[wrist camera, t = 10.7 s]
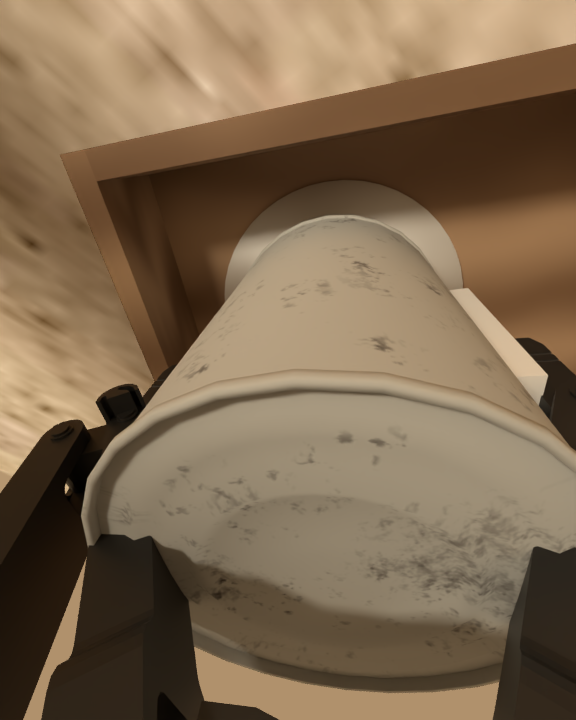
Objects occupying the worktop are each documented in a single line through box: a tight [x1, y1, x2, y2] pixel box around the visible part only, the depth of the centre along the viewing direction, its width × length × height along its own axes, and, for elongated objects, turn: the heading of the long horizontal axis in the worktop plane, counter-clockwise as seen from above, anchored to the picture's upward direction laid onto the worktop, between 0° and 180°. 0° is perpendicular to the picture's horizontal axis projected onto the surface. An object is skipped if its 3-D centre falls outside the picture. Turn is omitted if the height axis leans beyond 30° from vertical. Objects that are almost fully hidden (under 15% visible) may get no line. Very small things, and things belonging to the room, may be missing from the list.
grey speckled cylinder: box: [81, 215, 576, 693], centre depth 12 cm, size 10×10×12 cm
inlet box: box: [60, 44, 576, 381], centre depth 16 cm, size 17×22×5 cm
